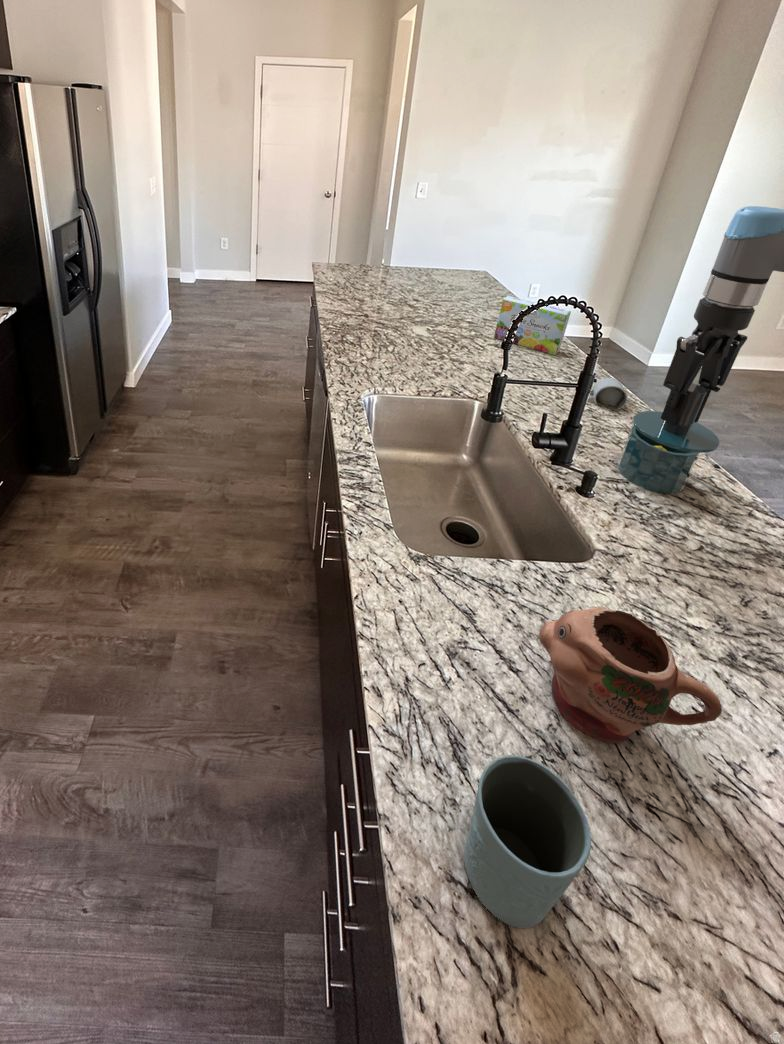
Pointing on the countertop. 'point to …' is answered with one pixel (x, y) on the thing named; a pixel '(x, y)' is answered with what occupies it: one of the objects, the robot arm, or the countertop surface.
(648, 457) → the pot
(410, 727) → the countertop surface
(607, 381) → the ceramic mug
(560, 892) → the teal cup
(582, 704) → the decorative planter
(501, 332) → the snack box
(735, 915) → the countertop surface
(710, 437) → the lid
